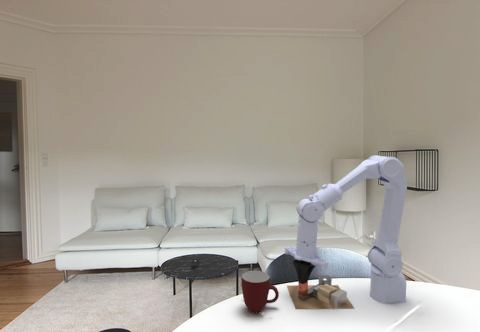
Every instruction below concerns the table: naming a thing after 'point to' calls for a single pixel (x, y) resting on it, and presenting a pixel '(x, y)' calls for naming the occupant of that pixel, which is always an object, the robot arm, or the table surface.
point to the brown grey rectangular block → (338, 299)
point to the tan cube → (326, 293)
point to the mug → (257, 290)
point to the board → (313, 300)
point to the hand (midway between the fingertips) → (303, 284)
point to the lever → (313, 291)
